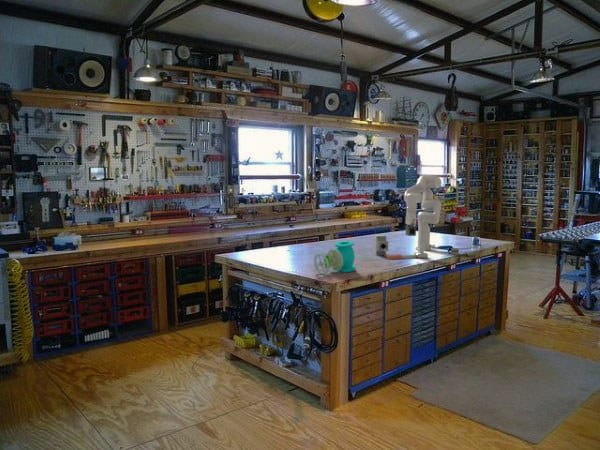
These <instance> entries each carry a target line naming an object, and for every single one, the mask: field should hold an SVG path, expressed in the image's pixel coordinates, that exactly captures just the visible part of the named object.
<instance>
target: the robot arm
mask: <svg viewBox="0 0 600 450" xmlns="http://www.w3.org/2000/svg"><path fill="white" fill-rule="evenodd" d="M441 186H442V180H441V178H440V177H439V176H438V175H436V174H435V175H434V174H422V175H420V176H419V178H418V180H417V182H416V183H415V184H414V185H412V186H411V187H409V188H407V190H406V191H405V192H404V195H403V200H404V202H405V203H406V213H405V224H406V226H411V229H410V234H415V226H416V225H417V227H418V230H417V247H415V250H416V251H418V248H423V249H424V252H425V251H431V250H432V248H436V244H431V243H430V241H431V227H430V225H429V224H433V225H434V224H435V225H436V224H438V223H439V221H440V217H441V211H442V202H441V201H440V199H434V192H433V191H432V190H431V189H439V188H441ZM421 193H422V194H421ZM418 204H420V206H421V207H420V208H421V210H423V211H419V212H418V213H417V208H418V207H417V205H418Z"/></svg>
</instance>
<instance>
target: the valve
mask: <svg viewBox="0 0 600 450" xmlns="http://www.w3.org/2000/svg"><path fill="white" fill-rule="evenodd" d="M354 245H355V242H354V241H351V240H342V241H337V242H335V243H334V246H335V247H337V248H332V249H330V250H328V252H327V253H326V254H323V253H321V252H318V253H316V254H315V255H314V259H313V264H314V267H315V270H316V271H317V273H319V274H320V275H324V276H325V275H327V274H328V273H329V272H330V271H329V270H330V268H331V269H332V270H333V271H337V272H340V271H341V272H340V273H351V272H354V271H355V270H357V267H356V265H354V262H355V252H354V251H355V250H354V248H353V247H352V246H354ZM320 256H321V257H322V258H323V260H324V261H322V259H321V257H320ZM317 258H318V260H319V262H318V263H317ZM318 267H321V270H322V271H321V270H320V269H319V268H318Z"/></svg>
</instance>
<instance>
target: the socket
mask: <svg viewBox="0 0 600 450" xmlns="http://www.w3.org/2000/svg"><path fill="white" fill-rule="evenodd" d="M410 229H411V226H407V225H405V236H408V237H413V236H417V226H416V225H415V234H410Z"/></svg>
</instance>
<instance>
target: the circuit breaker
mask: <svg viewBox="0 0 600 450" xmlns="http://www.w3.org/2000/svg"><path fill="white" fill-rule="evenodd" d="M372 239H373V247H372V251H373V253H372V254H373V255H375V256H385V255H387V253H386V252H389V241H388V240H387V235H384V234H374V235H373V238H372Z"/></svg>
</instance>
